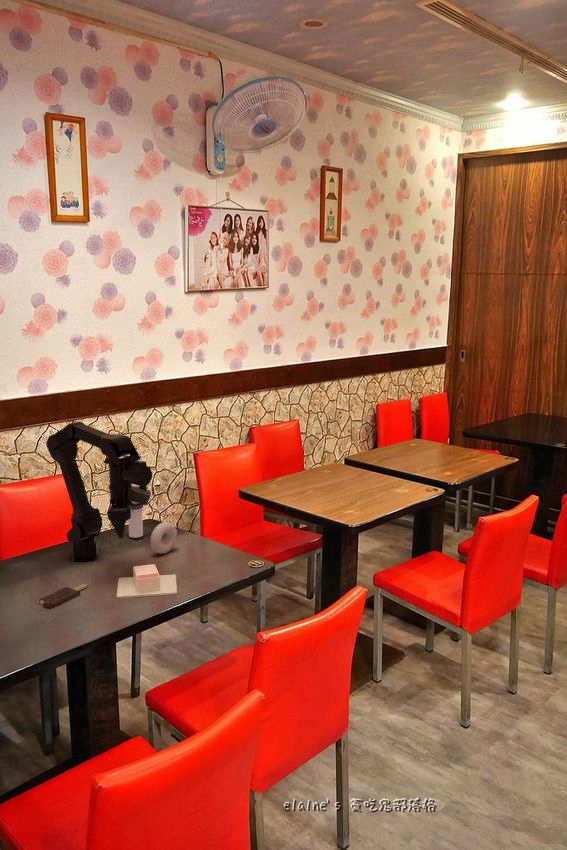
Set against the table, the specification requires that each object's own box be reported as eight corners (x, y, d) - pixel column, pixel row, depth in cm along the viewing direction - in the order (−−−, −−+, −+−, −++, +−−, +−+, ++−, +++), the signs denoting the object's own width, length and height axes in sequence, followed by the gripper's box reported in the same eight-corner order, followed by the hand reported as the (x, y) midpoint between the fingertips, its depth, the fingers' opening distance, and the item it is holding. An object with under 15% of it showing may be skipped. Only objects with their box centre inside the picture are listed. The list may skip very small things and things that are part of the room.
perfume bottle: (124, 536, 235) (122, 478, 230) (141, 533, 237) (139, 475, 233) (130, 541, 230) (128, 482, 226) (147, 538, 233) (145, 480, 228)
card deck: (133, 579, 200) (133, 566, 199) (155, 577, 202) (154, 563, 201) (138, 593, 192) (137, 579, 191) (160, 590, 193) (160, 576, 193)
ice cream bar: (79, 585, 198) (36, 606, 185) (79, 579, 198) (36, 600, 185) (93, 589, 195) (50, 611, 183) (93, 584, 195) (50, 605, 182)
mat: (116, 598, 190) (116, 596, 189) (118, 579, 201) (118, 577, 201) (177, 594, 192) (177, 592, 192) (175, 576, 204) (175, 574, 204)
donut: (156, 559, 216) (155, 528, 214) (148, 556, 218) (147, 525, 216) (179, 549, 224) (179, 519, 222) (172, 547, 226) (171, 517, 224)
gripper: (148, 488, 194) (149, 542, 197) (148, 470, 212) (150, 519, 215) (106, 490, 192) (108, 544, 195) (110, 471, 210) (112, 521, 213)
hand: (121, 532), depth 205 cm, fingers open, 9 cm apart
